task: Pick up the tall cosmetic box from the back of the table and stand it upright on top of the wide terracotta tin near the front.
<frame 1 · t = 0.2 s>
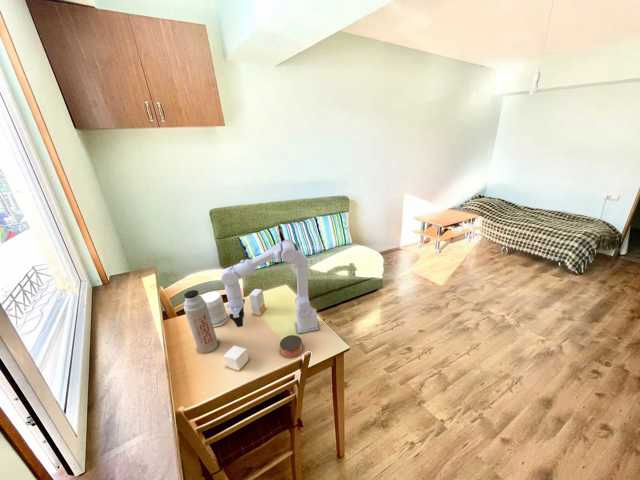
hand: (240, 320, 122), 10 cm above the table, tool pointing down, fingers open, 7 cm apart
thermos bottle: (208, 346, 122), on the table
supplement tub: (217, 321, 137), on the table
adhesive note: (237, 363, 114), on the table
cosmetic box: (259, 311, 144), on the table
terracotta tin: (291, 349, 120), on the table
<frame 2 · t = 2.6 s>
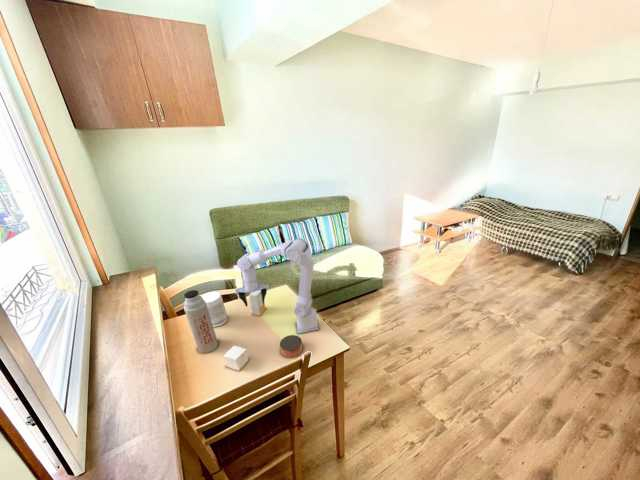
hand: (255, 303, 132), 10 cm above the table, tool pointing down, fingers open, 7 cm apart
nothing on the table moved.
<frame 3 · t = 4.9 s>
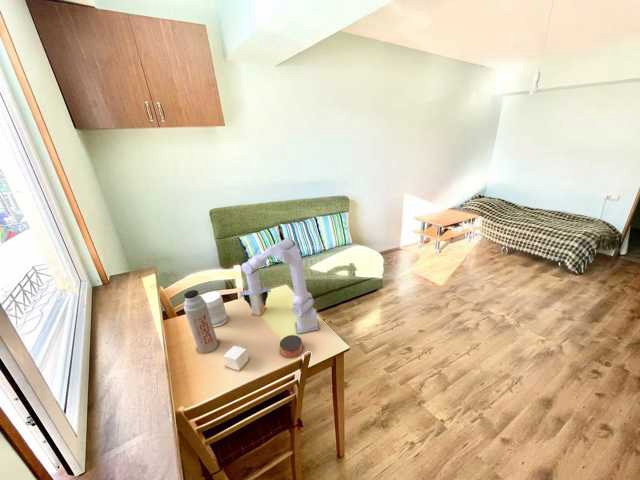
hand: (258, 305, 142), 4 cm above the table, tool pointing down, fingers closed on cosmetic box, 6 cm apart
cosmetic box: (259, 311, 144), on the table, touching gripper
everything else where it was.
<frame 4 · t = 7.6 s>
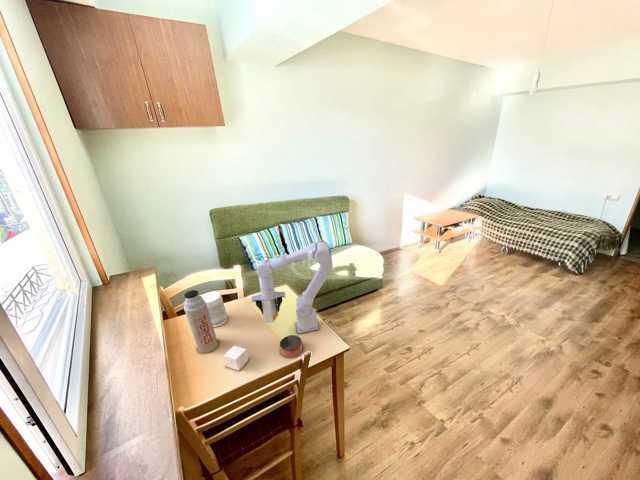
hand: (271, 312, 127), 10 cm above the table, tool pointing down, fingers closed on cosmetic box, 6 cm apart
cosmetic box: (271, 318, 128), point 6 cm above the table, touching gripper
everything else where it was.
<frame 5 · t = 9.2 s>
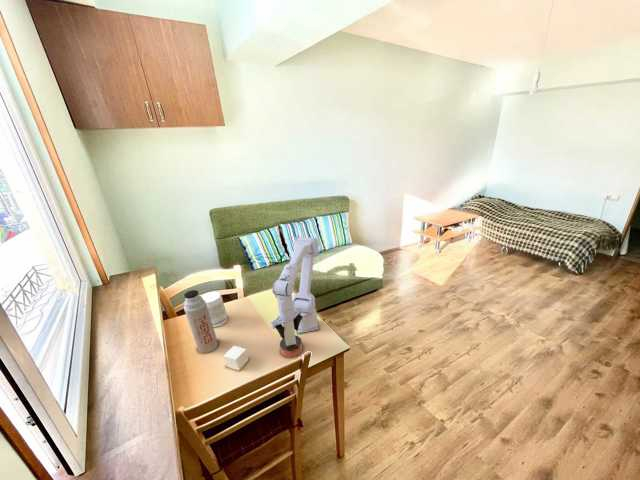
hand: (289, 333, 116), 9 cm above the table, tool pointing down, fingers closed on cosmetic box, 6 cm apart
cosmetic box: (290, 340, 118), point 5 cm above the table, touching gripper
everything else where it was.
when the fingers open (8 cm above the table, at t = 10.3 s): cosmetic box stays where it is, resting on terracotta tin.
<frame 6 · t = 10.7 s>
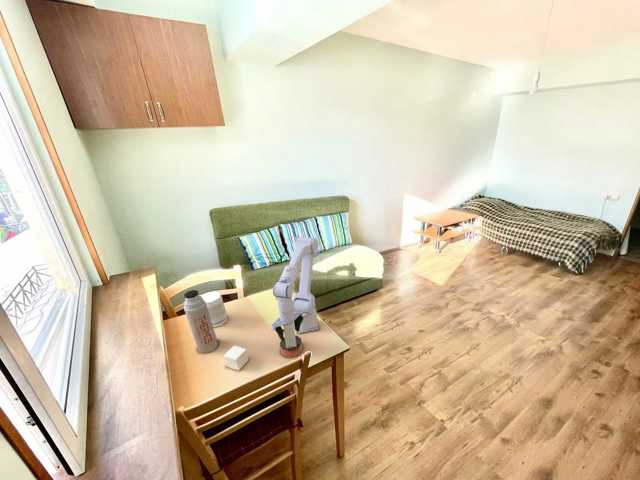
hand: (289, 335, 116), 8 cm above the table, tool pointing down, fingers open, 7 cm apart
cosmetic box: (290, 343, 118), point 4 cm above the table, touching terracotta tin
terracotta tin: (291, 349, 120), on the table, touching cosmetic box
everything else where it was.
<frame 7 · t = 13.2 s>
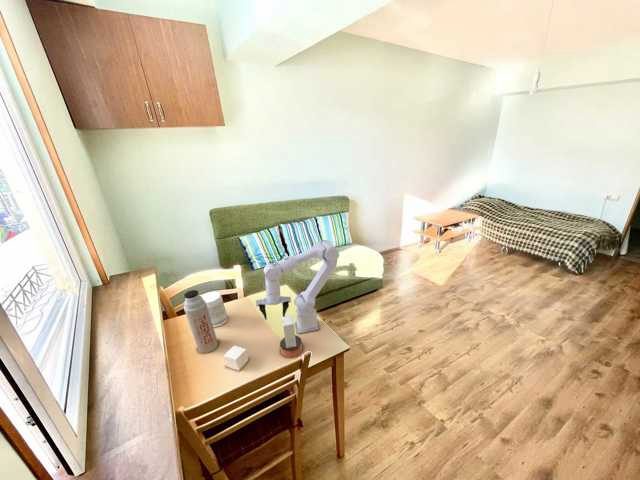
hand: (274, 317, 123), 11 cm above the table, tool pointing down, fingers open, 7 cm apart
nothing on the table moved.
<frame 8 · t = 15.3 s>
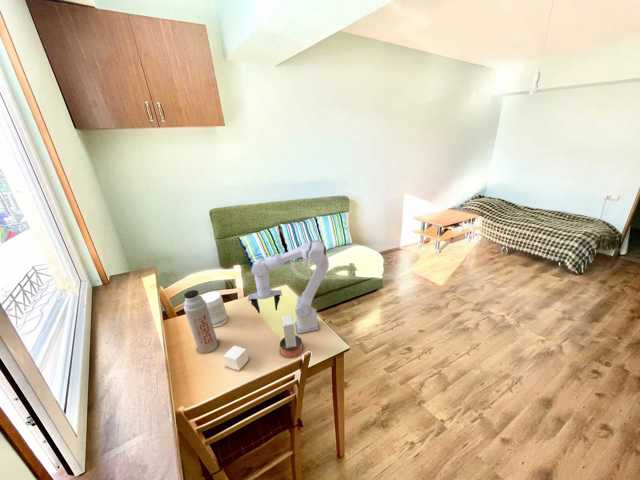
hand: (267, 310, 128), 10 cm above the table, tool pointing down, fingers open, 7 cm apart
nothing on the table moved.
at the end: cosmetic box 0.1 cm off-centre on the terracotta tin, point 3.8 cm above the terracotta tin's base; cosmetic box tilted 0°; the gripper is holding nothing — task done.
